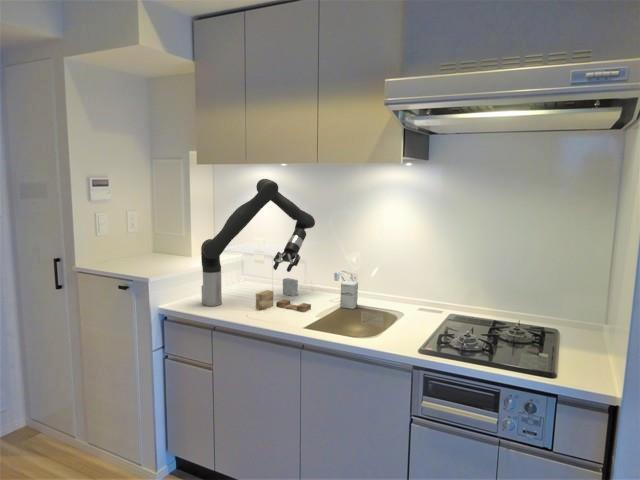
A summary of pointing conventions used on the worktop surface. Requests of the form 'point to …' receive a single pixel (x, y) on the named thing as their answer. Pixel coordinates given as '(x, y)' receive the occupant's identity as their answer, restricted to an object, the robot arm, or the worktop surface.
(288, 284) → the medicine box
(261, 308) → the oak crosspiece
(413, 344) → the worktop surface
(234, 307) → the worktop surface
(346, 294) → the supplement box
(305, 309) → the notched beam
